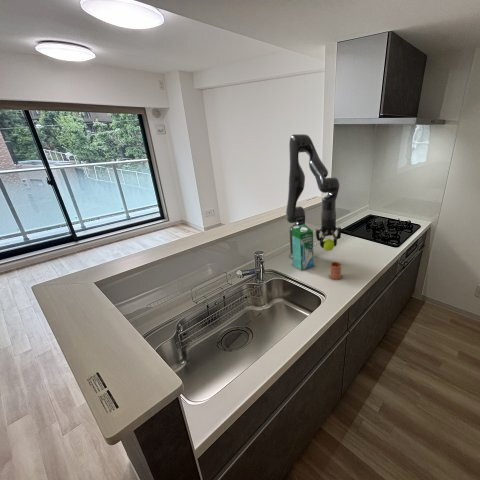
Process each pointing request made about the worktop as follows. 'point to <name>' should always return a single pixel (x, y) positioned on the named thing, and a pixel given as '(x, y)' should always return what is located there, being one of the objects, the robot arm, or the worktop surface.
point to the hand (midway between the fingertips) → (328, 246)
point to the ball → (328, 244)
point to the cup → (335, 270)
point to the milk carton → (302, 246)
